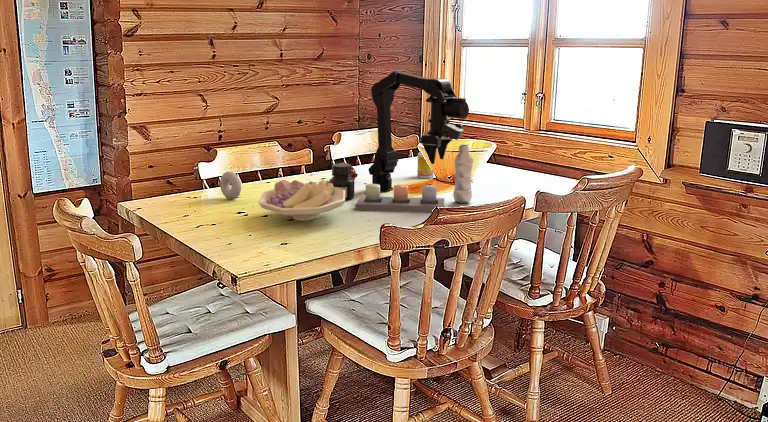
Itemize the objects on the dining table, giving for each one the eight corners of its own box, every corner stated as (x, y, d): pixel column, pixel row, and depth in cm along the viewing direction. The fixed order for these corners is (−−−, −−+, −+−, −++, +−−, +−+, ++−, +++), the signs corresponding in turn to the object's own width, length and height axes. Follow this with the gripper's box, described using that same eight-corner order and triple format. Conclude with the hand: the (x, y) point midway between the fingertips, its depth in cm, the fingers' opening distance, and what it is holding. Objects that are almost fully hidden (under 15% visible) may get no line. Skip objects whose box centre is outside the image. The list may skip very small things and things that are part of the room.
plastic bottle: (473, 201, 239) (475, 144, 234) (469, 205, 233) (471, 147, 228) (455, 199, 241) (457, 143, 236) (451, 203, 235) (452, 146, 230)
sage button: (364, 199, 228) (364, 186, 227) (366, 196, 233) (366, 183, 232) (379, 199, 228) (379, 187, 227) (380, 196, 232) (380, 184, 231)
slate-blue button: (421, 201, 226) (421, 188, 225) (422, 197, 231) (422, 185, 230) (436, 201, 226) (436, 188, 225) (436, 198, 231) (436, 185, 229)
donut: (243, 200, 237) (242, 172, 235) (235, 202, 235) (234, 174, 232) (226, 196, 244) (225, 168, 241) (218, 197, 241) (217, 170, 239)
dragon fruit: (335, 183, 274) (354, 192, 266) (323, 173, 267) (342, 182, 259) (346, 165, 275) (366, 174, 267) (334, 155, 268) (354, 164, 260)
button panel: (355, 210, 226) (355, 204, 225) (360, 201, 237) (360, 195, 237) (443, 212, 223) (443, 206, 222) (444, 203, 234) (444, 198, 234)
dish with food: (311, 235, 197) (310, 187, 193) (239, 221, 211) (237, 176, 207) (364, 214, 220) (364, 171, 216) (296, 203, 234) (295, 162, 230)
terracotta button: (393, 200, 227) (393, 187, 226) (394, 197, 232) (394, 184, 231) (407, 200, 227) (407, 187, 226) (408, 197, 231) (408, 184, 230)
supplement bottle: (434, 178, 276) (434, 147, 272) (417, 178, 276) (418, 147, 272) (433, 175, 282) (433, 144, 279) (417, 175, 282) (417, 144, 279)
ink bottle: (323, 198, 242) (322, 164, 239) (341, 194, 248) (341, 161, 245) (342, 202, 236) (342, 168, 233) (360, 198, 242) (360, 165, 239)
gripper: (452, 120, 221) (450, 168, 225) (469, 114, 237) (467, 159, 241) (420, 118, 225) (419, 165, 229) (439, 112, 242) (438, 156, 246)
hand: (437, 161), depth 236 cm, fingers open, 9 cm apart
